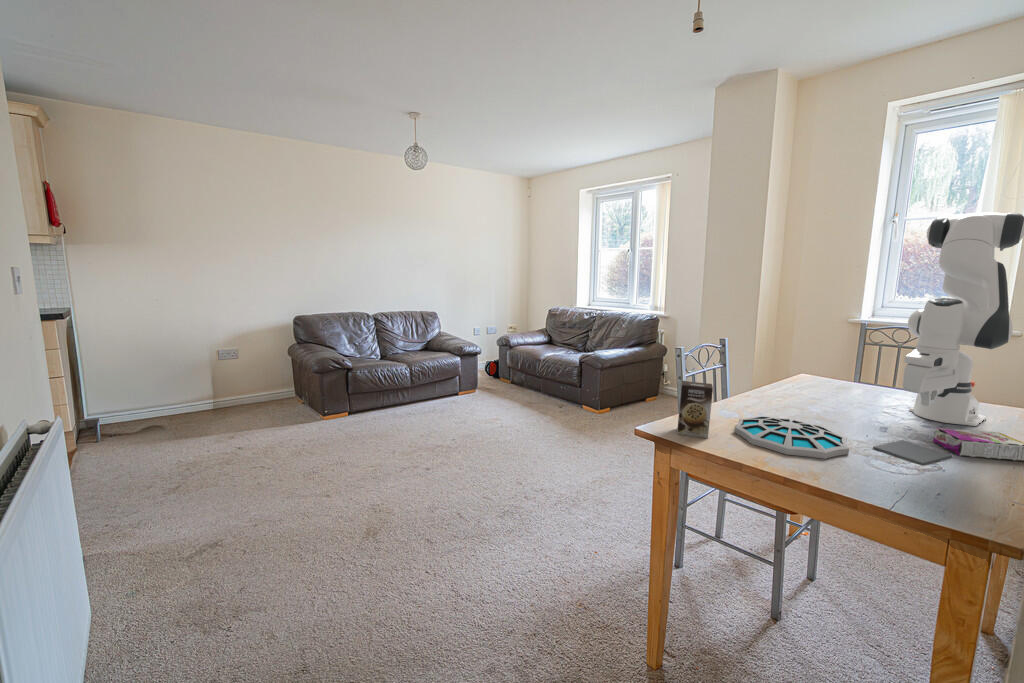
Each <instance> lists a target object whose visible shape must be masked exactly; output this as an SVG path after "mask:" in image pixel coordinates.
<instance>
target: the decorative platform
mask: <svg viewBox="0 0 1024 683" xmlns="http://www.w3.org/2000/svg"><path fill="white" fill-rule="evenodd" d="M734 433H735V434H736V435H737V436H740V437H742V438H743V439H744V440H746V441H747V442H748V443H750V444H751V445H753V446H758V447H761V448H765V449H768V450H771V451H775V452H778V453H780V454H783V455H786V456H787V455H788V456H789V455H790V456H796V457H797V456H798V457H799V456H800V457H808V458H817V459H825V460H826V459H830V458H833V457H839V456H846V455H847V456H848V455H849V453H850V448H849V446H848V444H847V440H848V438H846V437H845V436H842V435H840V434H838V433H835V432H834V431H832V430H829V429H827V428H826V427H824V426H821V425H818V424H813V423H808V422H802V421H799V420H796V419H793V418H783V417H781V418H780V417H772V416H766V415H765V416H760V415H759V416H754V417H750V418H747V417H746V418H739V419H738V424H737V425H736V426H735V427H734Z"/></svg>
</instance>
